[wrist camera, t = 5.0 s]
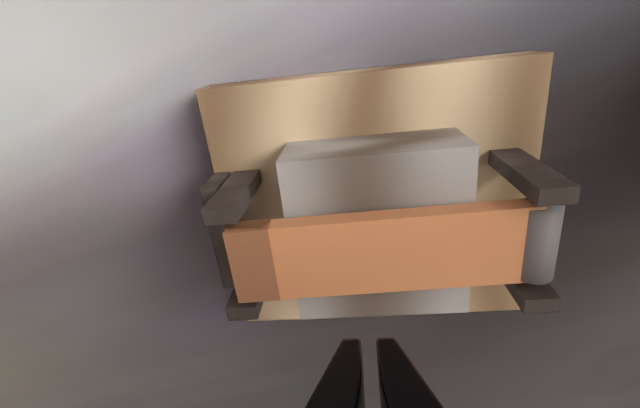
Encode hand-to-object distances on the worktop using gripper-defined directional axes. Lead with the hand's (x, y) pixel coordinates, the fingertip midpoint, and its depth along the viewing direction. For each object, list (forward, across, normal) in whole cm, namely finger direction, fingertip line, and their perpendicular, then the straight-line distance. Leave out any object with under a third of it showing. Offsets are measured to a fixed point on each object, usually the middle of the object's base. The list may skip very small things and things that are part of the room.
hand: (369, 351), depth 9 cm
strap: (+6, -1, +1) cm, 6 cm away
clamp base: (+11, -1, +1) cm, 11 cm away
